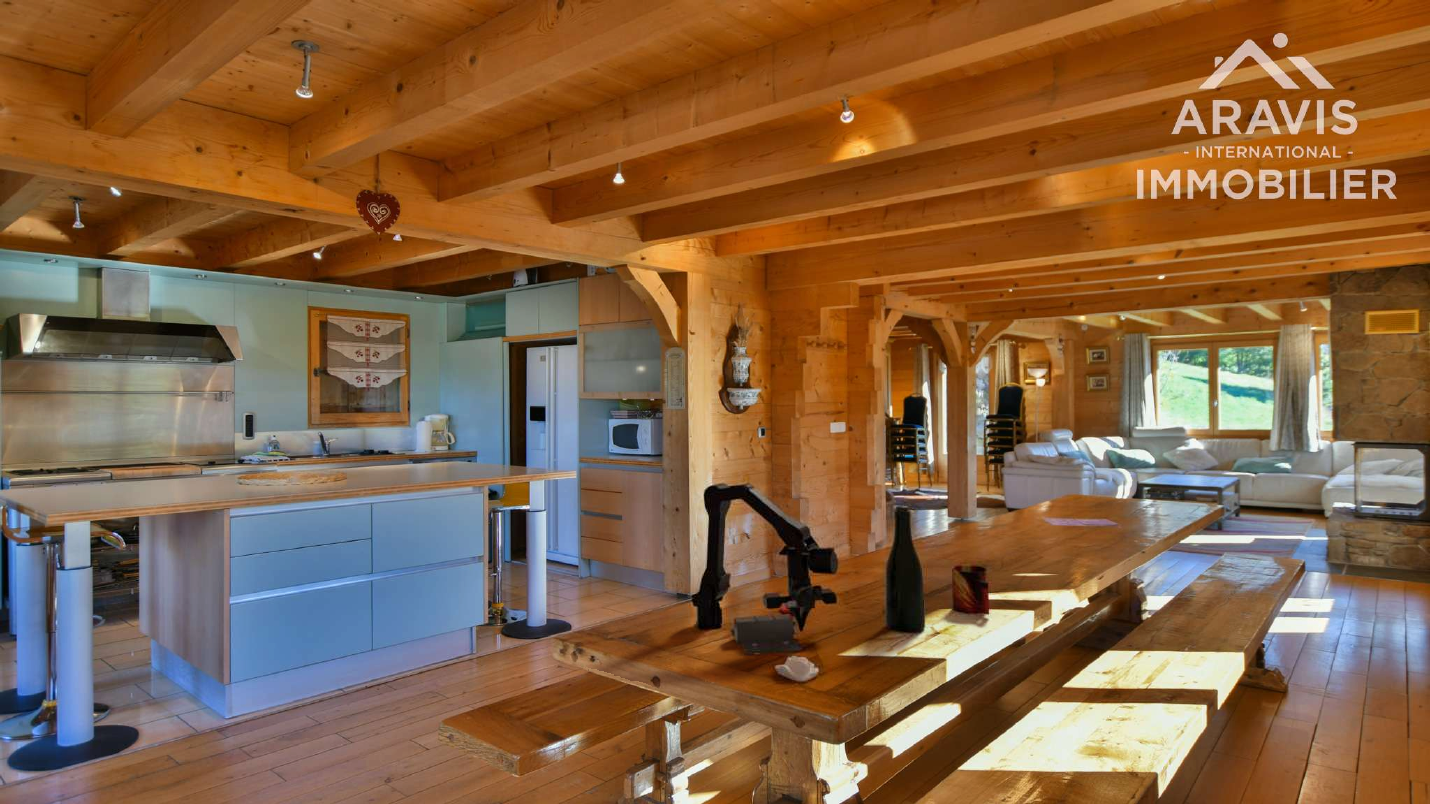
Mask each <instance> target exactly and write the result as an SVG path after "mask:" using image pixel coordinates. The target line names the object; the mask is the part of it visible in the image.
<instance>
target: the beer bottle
mask: <svg viewBox="0 0 1430 804" xmlns="http://www.w3.org/2000/svg"><path fill="white" fill-rule="evenodd" d="M911 516H912V515H911V511H909V506H908V505H907V506H906V505H898V506H896V507H895V510H894V514H893V517H894V533H893V534H894V535H893V541H892V546H891V547H890V548H891V549H890V552H889V554H888V557H887V560H886V565H885V570H884V571H885V576H884V577H885V579H884V586H885V587H884V589H885V590H884V594H885V595H884V600H885V601H884V603H885V604H884V605H885V607H884V608H885V610H884V613H885V616H884V617H885V626H886V628H888V629H889V630H890V631H893V632H899V633H917V632H920V631H922V630H924V629H925V627H926V608H925V607H926V606H925V589H924V587H925V586H924V573H923V566H922V563H921V559H920V557H919V555H918V553H917V550H916V547H915V544H914V541H913V535H912V525H911V522H912V521H911V518H912V517H911Z"/></svg>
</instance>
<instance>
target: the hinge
mask: <svg viewBox="0 0 1430 804" xmlns="http://www.w3.org/2000/svg"><path fill="white" fill-rule="evenodd" d="M733 621H734V622H733V624H734V625H732V627H731V628H732V632H733V633H734V640H735V642H736V644H737V645H741V647H743V648H742V649H743V651H744V654H745V655H746V656H749V655H748V654H751V655H756V654H755V653H766V654H774V653H773V652H780V653H792V652H793V651H794V652H803V649H802V646H801V645H800V644H799V642H798V641H797V639H795V636H794V635H793V621H794V619H793V617H792V615H790V614H774V615H773V613H772V614H771V615H757V616H756V615H753V616H743V617H740V616H739V617H734V618H733Z"/></svg>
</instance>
